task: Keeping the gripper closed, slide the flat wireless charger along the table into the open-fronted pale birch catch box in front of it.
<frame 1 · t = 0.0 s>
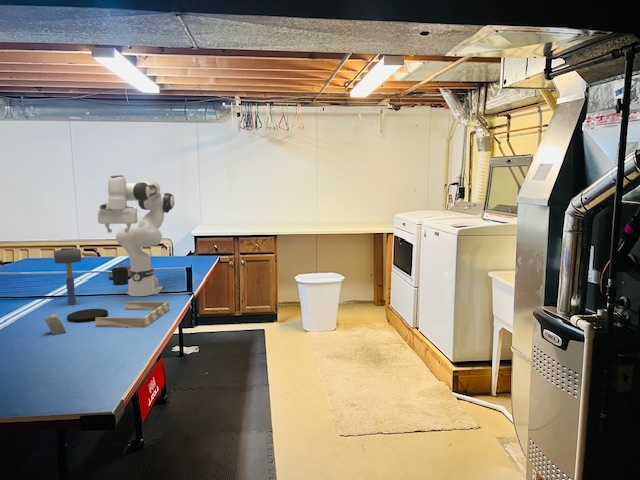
hand: (118, 232, 241), 39 cm above the table, tool pointing down, fingers open, 8 cm apart
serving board: (127, 275, 326), on the table
pen holder: (120, 284, 296), on the table
wireless charger: (88, 318, 224), on the table
mineral specimen: (56, 333, 201), on the table
catch box: (133, 317, 222), on the table
rubber mallet: (72, 304, 247), on the table
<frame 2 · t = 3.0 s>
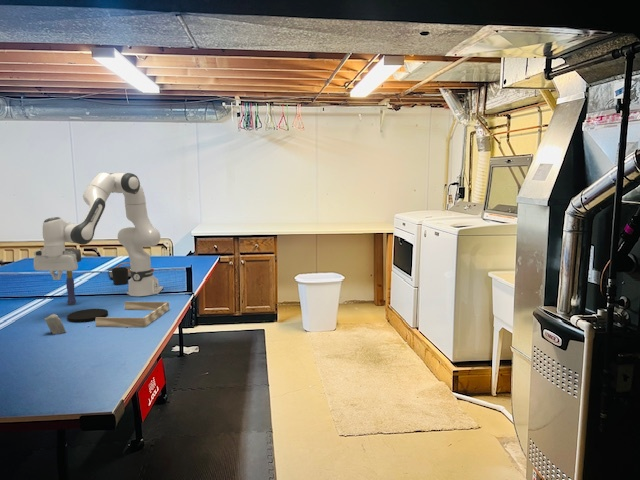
hand: (57, 279, 222), 19 cm above the table, tool pointing down, fingers closed
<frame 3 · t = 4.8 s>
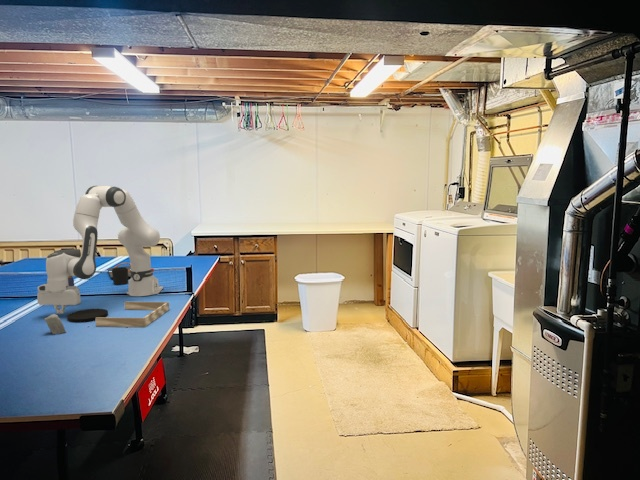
hand: (60, 313, 225), 2 cm above the table, tool pointing down, fingers closed
nothing on the table moved.
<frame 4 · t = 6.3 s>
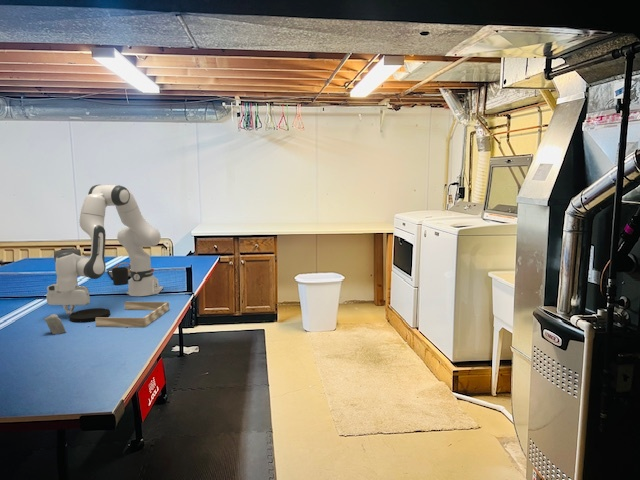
hand: (69, 313, 225), 2 cm above the table, tool pointing down, fingers closed
wireless charger: (90, 317, 224), on the table, touching gripper
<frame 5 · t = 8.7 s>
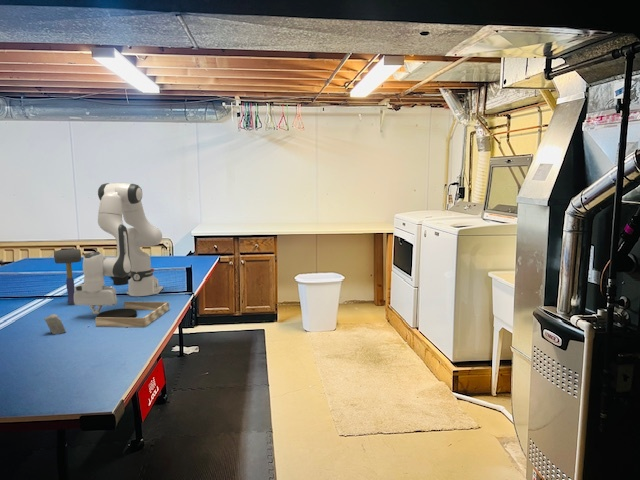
hand: (96, 313, 223), 2 cm above the table, tool pointing down, fingers closed
wireless charger: (117, 318, 223), on the table, touching gripper
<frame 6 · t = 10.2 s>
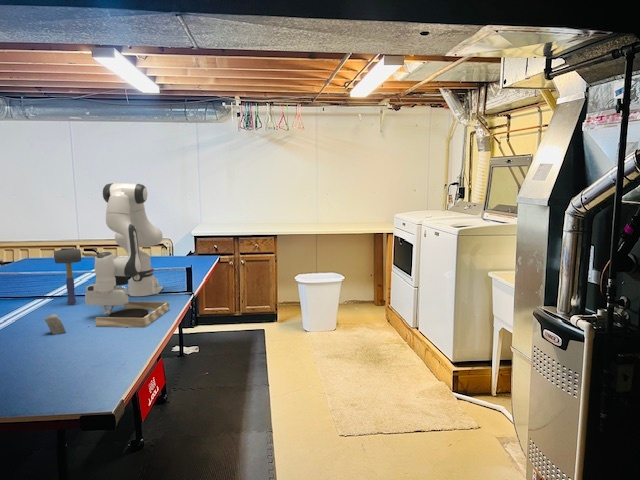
hand: (108, 314, 223), 2 cm above the table, tool pointing down, fingers closed
wireless charger: (129, 318, 223), on the table, touching gripper
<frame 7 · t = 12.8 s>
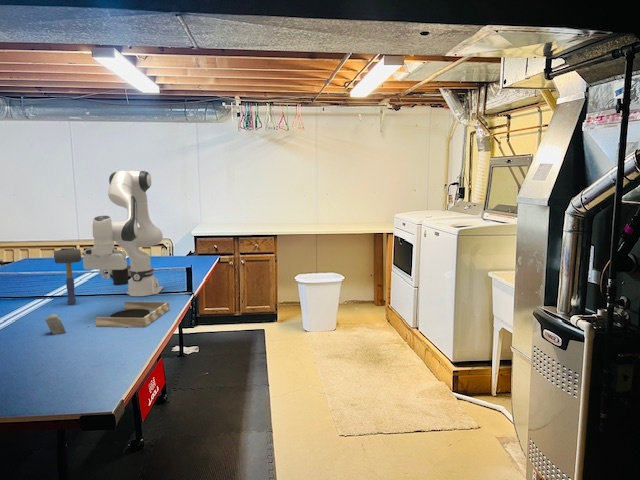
hand: (106, 278, 221), 19 cm above the table, tool pointing down, fingers closed
wireless charger: (130, 318, 223), on the table
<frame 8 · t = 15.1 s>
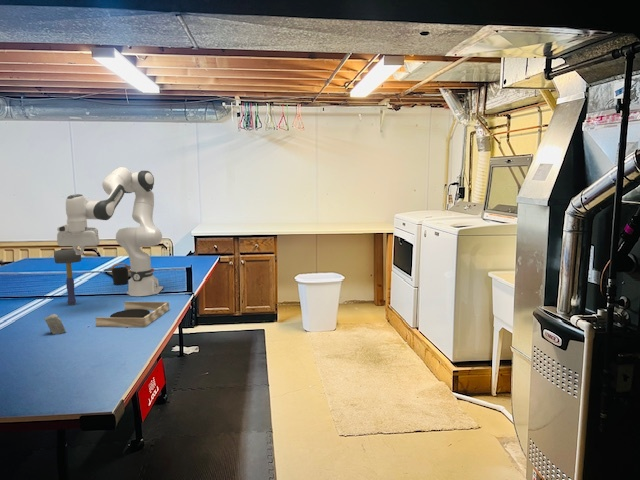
hand: (79, 254, 231), 29 cm above the table, tool pointing down, fingers closed
at the end: wireless charger inside the target area (3.6 cm from its centre), on the table; wireless charger moved 21.4 cm from its start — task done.
